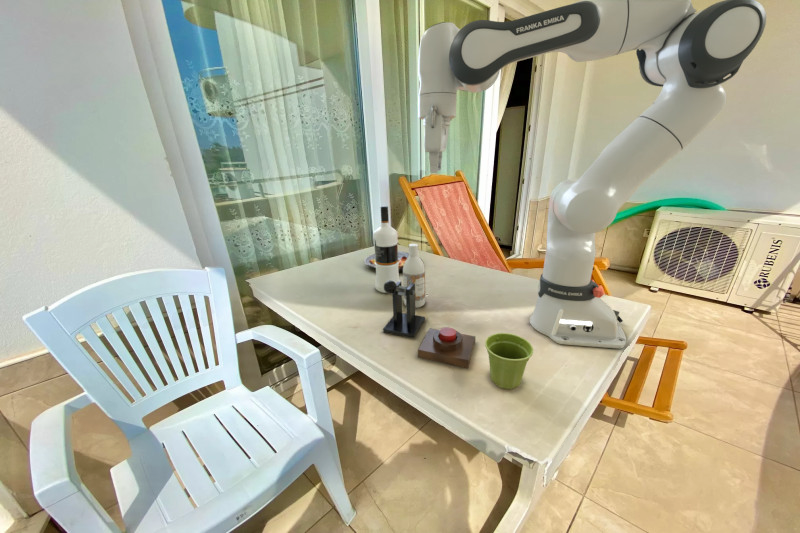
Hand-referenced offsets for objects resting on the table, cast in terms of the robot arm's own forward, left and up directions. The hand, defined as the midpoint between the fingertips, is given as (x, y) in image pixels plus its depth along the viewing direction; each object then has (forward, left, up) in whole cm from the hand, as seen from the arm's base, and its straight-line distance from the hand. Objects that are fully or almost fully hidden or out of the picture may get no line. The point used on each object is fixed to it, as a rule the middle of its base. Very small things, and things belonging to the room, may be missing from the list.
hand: (435, 171), depth 76 cm
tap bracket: (+7, +8, -42) cm, 43 cm away
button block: (-7, +15, -42) cm, 45 cm away
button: (-7, +15, -38) cm, 41 cm away
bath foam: (+9, -6, -42) cm, 43 cm away
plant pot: (-21, +21, -42) cm, 51 cm away
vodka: (+22, -14, -42) cm, 49 cm away
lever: (+7, +13, -29) cm, 33 cm away
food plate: (+30, -38, -42) cm, 64 cm away
